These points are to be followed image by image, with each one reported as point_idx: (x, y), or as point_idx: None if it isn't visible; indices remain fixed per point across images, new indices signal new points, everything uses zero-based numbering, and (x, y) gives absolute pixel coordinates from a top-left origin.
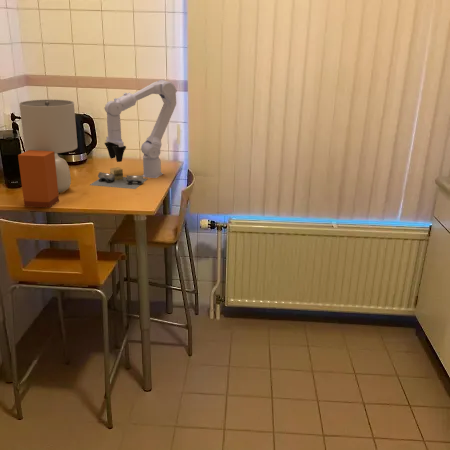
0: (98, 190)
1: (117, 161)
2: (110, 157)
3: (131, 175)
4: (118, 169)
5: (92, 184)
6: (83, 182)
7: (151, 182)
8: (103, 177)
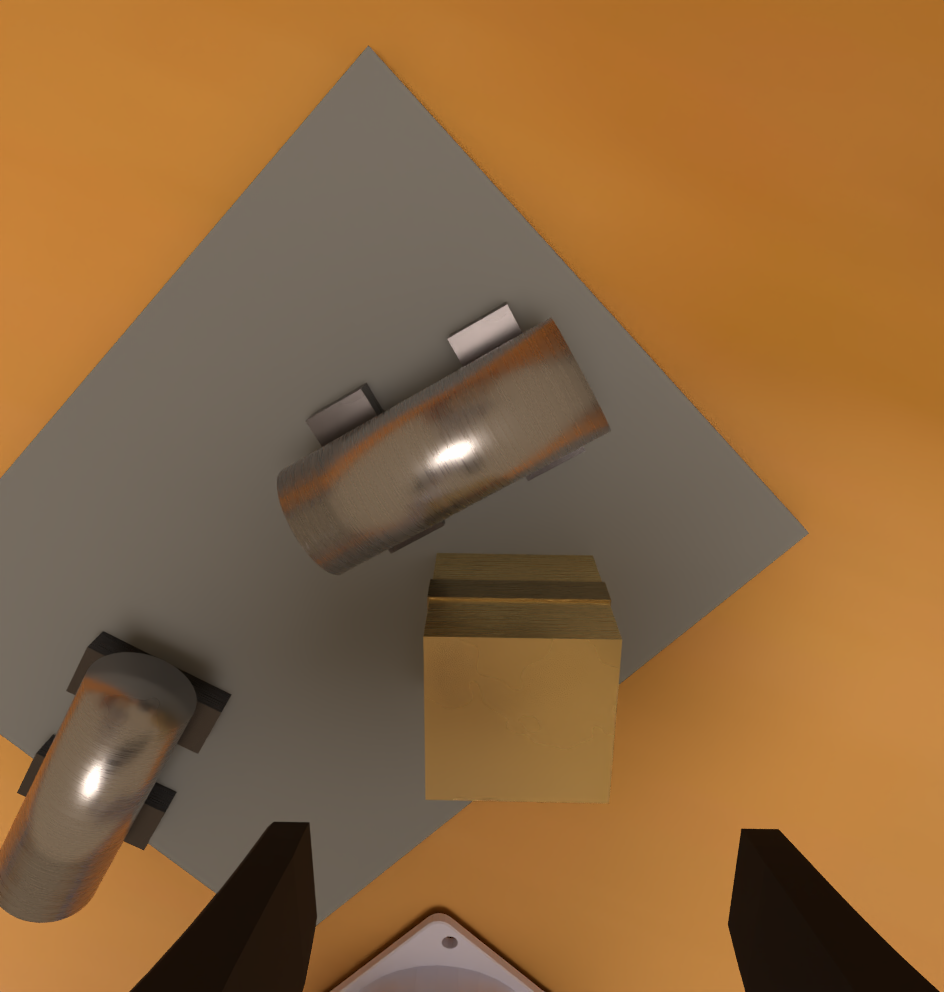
0: (61, 113)
1: (263, 832)
2: (748, 842)
3: (93, 787)
4: (451, 737)
5: (376, 118)
6: (685, 45)
7: (176, 924)
8: (432, 384)
